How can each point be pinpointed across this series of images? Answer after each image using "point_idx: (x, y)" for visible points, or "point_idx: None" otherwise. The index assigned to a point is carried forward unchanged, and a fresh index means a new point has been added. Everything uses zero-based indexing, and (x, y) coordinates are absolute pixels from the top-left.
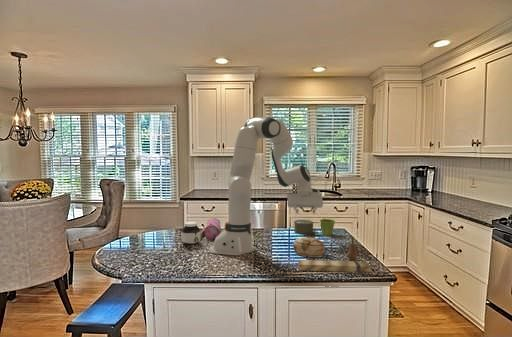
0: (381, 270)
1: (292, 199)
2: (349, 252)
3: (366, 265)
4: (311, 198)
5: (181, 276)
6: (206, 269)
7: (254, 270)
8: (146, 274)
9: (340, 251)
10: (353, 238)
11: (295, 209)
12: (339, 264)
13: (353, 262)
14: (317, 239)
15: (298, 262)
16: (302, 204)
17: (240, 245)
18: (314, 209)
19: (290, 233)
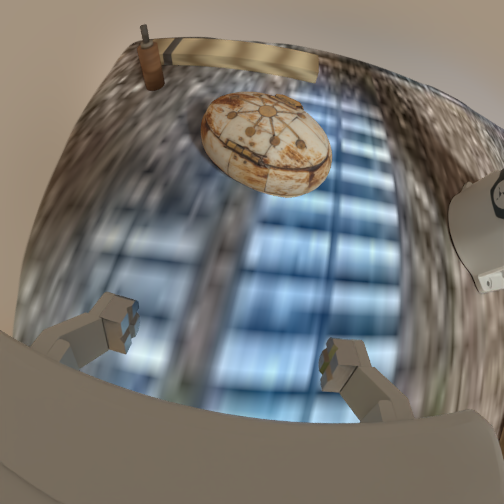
0: (127, 56)
1: (466, 491)
2: (160, 61)
3: (159, 40)
4: (30, 497)
5: (485, 118)
6: (475, 128)
7: (405, 92)
8: None
9: (127, 168)
10: (142, 28)
11: (371, 375)
12: (218, 42)
13: (176, 49)
14: (228, 111)
15: (318, 62)
16: (279, 421)
17: (480, 179)
18: (98, 314)
19: None
